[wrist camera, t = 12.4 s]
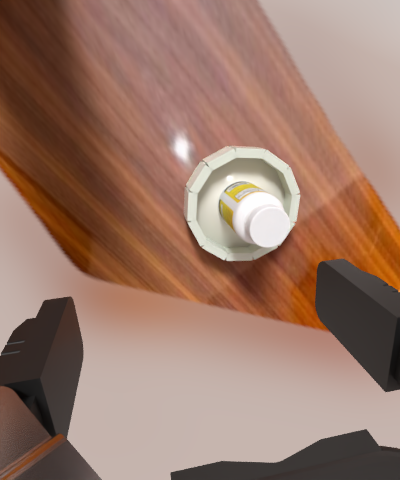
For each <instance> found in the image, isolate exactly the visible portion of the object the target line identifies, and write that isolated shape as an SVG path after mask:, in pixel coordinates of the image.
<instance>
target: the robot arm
mask: <svg viewBox="0 0 400 480" xmlns="http://www.w3.org/2000/svg"><path fill="white" fill-rule="evenodd" d="M315 305H316V311H317V314H318V317H319V319H320V320H321V322H322V323H323V324H324V325H325V326H326V327H327V328H328V329H329V330H330V332H331V333H332V334H333V335H334V336H335V337H336V338H337V339H338V340H339V341H340V343H341V344H342V345H343V346H344V347H345V348H346V349H347V350H348V351H349V352H350V354H351V355H352V356H353V357H354V358H355V359H356V360H357V361H358V362H359V363H360V365H361V366H362V367H363V368H364V369H365V370H366V371H367V372H368V373H369V374H370V376H371V377H372V378H373V379H374V380H375V381H376V382H377V383H378V384H379V385H380V387H381V388H382V389H383V390H384V391H385V392H389V391H394V390H399V389H400V292H398V290H396V289H395V288H393V287H392V286H388V284H387V283H386V282H384V281H383V280H381V279H380V278H378V277H377V276H374V275H372V274H369V273H366V272H364V271H361V270H360V269H358V268H357V267H355V266H354V265H352V264H351V263H350V262H348V261H347V260H345V259H336V260H329V261H322V262H320V263H319V265H318V268H317V283H316V300H315ZM82 362H83V342H82V337H81V332H80V328H79V323H78V319H77V314H76V310H75V305H74V302H73V299H72V297H64V298H57V299H51V300H45V301H44V302H43V304H42V306H41V308H40V310H39V312H38V314H37V316H36V318H32V319H27V320H25V321H24V322H23V323H22V324H21V325H20V326H18V327H17V328H16V329H15V330H14V331H13V333H12V335H11V336H10V338H9V340H8V342H7V345H5V347H4V349H3V351H2V352H1V356H0V480H102V479H101V478H100V477H99V476H98V475H97V474H96V472H95V471H94V470H93V469H92V468H91V467H90V466H89V464H88V463H87V462H86V461H85V460H84V459H83V457H82V456H81V455H80V454H79V453H78V452H77V450H76V449H75V448H74V447H73V446H72V445H71V443H70V442H69V441H68V440H67V435H68V430H69V425H70V420H71V415H72V410H73V405H74V401H75V396H76V390H77V386H78V381H79V377H80V371H81V367H82ZM171 480H400V449H398V448H392V447H385V446H378V444H377V443H376V441H375V440H374V439H373V437H372V436H371V435H370V433H369V432H368V431H367V430H366V429H365V430H361V431H356V432H352V433H347V434H343V435H338V436H334V437H330V438H325V439H321V440H319V441H317V442H315V443H314V444H312V445H310V446H308V447H306V448H305V449H303V450H301V451H299V452H297V453H296V454H294V455H292V456H290V457H288V458H286V459H284V460H283V461H280V462H277V463H262V462H230V461H221V462H216V463H212V464H207V465H203V466H198V467H194V468H189V469H184V470H180V471H175V472H171Z"/></svg>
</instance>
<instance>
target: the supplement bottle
mask: <svg viewBox="0 0 400 480" xmlns="http://www.w3.org/2000/svg"><path fill="white" fill-rule="evenodd" d="M218 209H219V213H220V215H221V217H222V218H223V220H224V221H225V222H226V223H227V224H228V225H229V226H230V227H231V228H232V229H233V231H234V232H235V233H236V234H237V235H238V236H239V237H240V238H241V239H242V240H244V241H246V242H248V243H251V244H257V245H258V246H261V247H265V248H270V247H274V246H277V245H278V244H280V243H281V242H282V241H283V240H284V239H285V238H286V237H287V235H288V233H289V230H290V220H289V217H288V215H287V214H286V212H285V211H284V208H283V206H282V204H281V202H280V201H279V200H278V199H277V198H276V197H275V196H273V195H272V194H270V193H268V192H266V191H265V190H263V189H261V188H259V187H257V186H256V185H254V184H252V183H249V182H245V181H238V182H234V183H232V184H230V185H228V186H227V187H226V188H225V189H224V190H223V191H222V193H221V195H220V197H219V201H218Z"/></svg>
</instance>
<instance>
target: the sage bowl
mask: <svg viewBox="0 0 400 480" xmlns="http://www.w3.org/2000/svg"><path fill="white" fill-rule="evenodd" d="M202 160H203V162H201V161H200V163H199V164H198V166H197V168H196V169H195V171H194V172H193V174H192V176H191V177H190V179H189V180H188V182H187V184H186V186H187V187H185V196H184V217H185V219H186V221H187V223H188V225H189V226H190V228H191V230H192V232H193V234H194V236H195V237H196V239H197V241H198V243H199V245H200V247H202V248H203V249H205V250H206V251H208V252H210V253H212V254H214V255H215V256H217V257H219V258H221V259H222V260H226V261H252V259H254V260H255V259H257V258H259V257H261V256H263V255H265V254H267V253H268V252H270V251H272V250H274V249H276V248H278V246H274V247H270V248H265V247H261V246H258V245H257V244H251V243H248V242H246V241H244V240H242V239H241V238H240V237H239V236H238V235H237V234H236V233H235V232H234V231H233V229H232V228H231V227H230V226H229V225H228V224H227V223H226V222H225V221H224V220H223V218H222V217H221V215H220V213H219V209H218V201H219V197H220V195H221V193H222V191H223V190H224V189H225V188H226V187H227V186H228V185H230V184H232V183H234V182H238V181H245V182H249V183H252V184H254V185H256V186H257V187H259V188H261V189H263V190H265V191H266V192H268V193H270V194H272V195H273V196H275V197H276V198H277V199H278V200H279V201H280V202H281V204H282V206H283V208H284V211H285V212H286V214H287V215H288V217H289V220H290V230H289V232H290V231H291V229H292V228H293V226H294V225H295V223H294V222H296V220H297V214H298V207H299V200H300V194H298V193H300V191H299V188H298V186H297V183H296V181H295V178H294V175H293V173H292V170H291V168H290V167H289V165H287V164H286V163H284V162H283V161H282V160H280V159H279V158H278V157H276V156H275V155H273V154H272V153H271V152H269V151H268V150H265V149H262V148H258V147H247V146H229V147H228V146H226V147H225V148H223V149H221V150H219V151H217V152H215V153H213V154H212V155H210V156H208V157H206V158H204V159H202ZM282 242H283V241H282ZM282 242H281V243H282ZM281 243H280V244H278V245H279V246H280V245H281Z"/></svg>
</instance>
